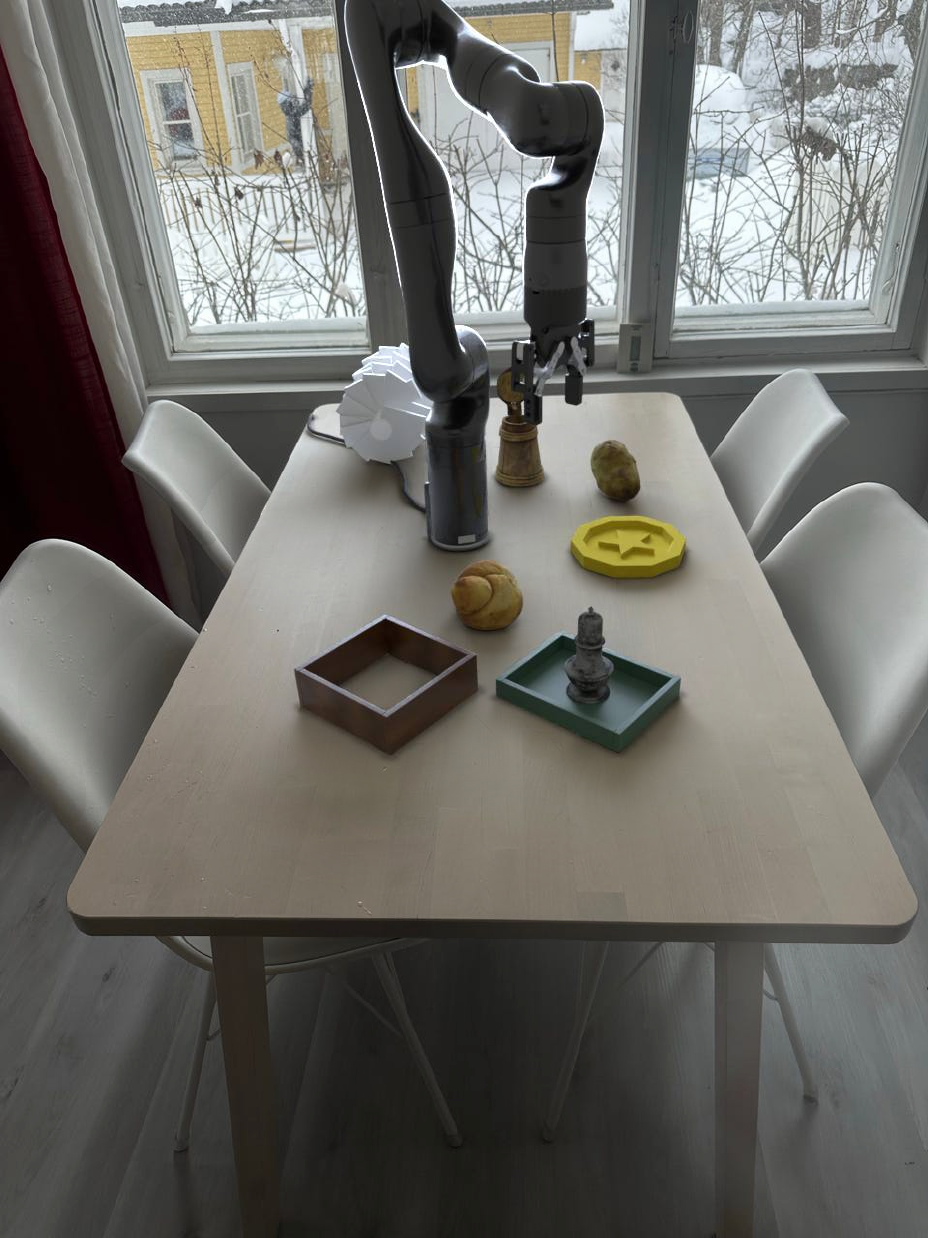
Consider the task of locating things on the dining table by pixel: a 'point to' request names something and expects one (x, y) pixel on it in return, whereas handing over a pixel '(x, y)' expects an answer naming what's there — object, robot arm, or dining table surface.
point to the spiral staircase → (384, 408)
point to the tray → (607, 722)
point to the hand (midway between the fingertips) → (553, 413)
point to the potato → (615, 470)
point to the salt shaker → (589, 662)
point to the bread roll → (487, 596)
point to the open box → (409, 715)
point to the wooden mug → (516, 440)
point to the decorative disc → (628, 546)
